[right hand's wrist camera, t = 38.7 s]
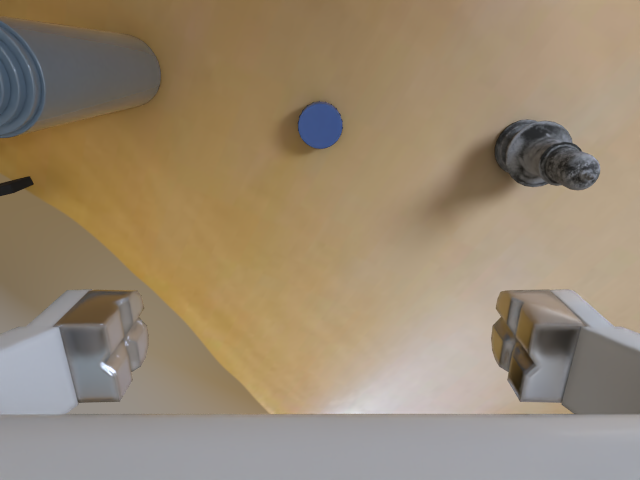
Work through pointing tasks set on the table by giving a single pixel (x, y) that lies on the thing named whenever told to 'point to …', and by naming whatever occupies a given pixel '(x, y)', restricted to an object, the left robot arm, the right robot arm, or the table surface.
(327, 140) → the cap
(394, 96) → the table surface
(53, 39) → the bottle
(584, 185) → the grey tapered ringed piece
